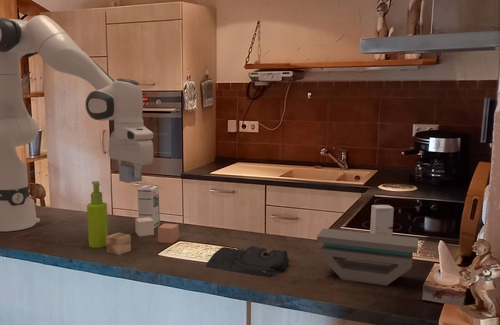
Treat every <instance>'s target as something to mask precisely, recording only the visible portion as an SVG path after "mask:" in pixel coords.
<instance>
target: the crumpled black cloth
mask: <svg viewBox="0 0 500 325" xmlns="http://www.w3.org/2000/svg"><path fill="white" fill-rule="evenodd" d="M289 260H290V258H289V257H288V252H287V250H277V249H271V250H270V252H267V249H266V248H265V247H257V246H253V245H250V246H249V247H247V248H246V249H240V248H239V249H238V248H233V247H227V246H223V247H220V248H219V249H218V250H217V251H215V252H214V253H213V254H212V256H210V258H209V260H207V262H206V265H205V268H210V269H214V270H215V269H216V270H220V271H221V270H222V271H226V272H232V273H239V274H244V275H250V276H251V275H252V276H257V277H263V278H271V277H277V276H278V275H279V274H280V273H281V272H283V271H284V270H286V268H287V267H288V265H289Z"/></svg>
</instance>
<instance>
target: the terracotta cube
mask: <svg viewBox="0 0 500 325" xmlns="http://www.w3.org/2000/svg"><path fill="white" fill-rule="evenodd" d="M179 227H180V226H179V224H178V223H175V224H174V223H165V222H164V223H162V224H161V225H158V226H157V243H162V244H163V243H164V244H175V242H177V241H178V240H180V236H179V235H180V233H179V231H180V230H179Z"/></svg>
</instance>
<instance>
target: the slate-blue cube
mask: <svg viewBox="0 0 500 325" xmlns="http://www.w3.org/2000/svg"><path fill="white" fill-rule="evenodd" d="M142 168H143V167H142ZM142 168H141V170H140V177H133V174H132V172H133V171H134V169H135V167H134V163H126V164H125V165H119V164H118V173H119V174H118V175H119V177H118V178H119V182H123V183H127V184H130V183H132V184H133V183H137V182H142V181H143V174H142V173H143V172H142V171H143V169H142Z"/></svg>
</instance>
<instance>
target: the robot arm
mask: <svg viewBox="0 0 500 325" xmlns="http://www.w3.org/2000/svg"><path fill="white" fill-rule="evenodd" d="M35 55H39V56H40V57H41V58H42V60H43V61H44V63H45V64H46V65H49V67H51V68H52V69H53V70H54V71H57V72H59V73H64V74H67V75H72V76H75V77H77V78H81V79H83V80H85V81H86V82H88V83H89V84H90V85H91V86H92V87H94V91H90V93H89V94H88V95H87V96H86V97H87V98H86V99H85V110H86V112H87V114H88V116H89V117H90V118H91V119H93V120H95V121H101V122H102V121H113V123H114V124H113V126H114V127H113V128H114V130H113V131H112V132H111V133H110V137H109V138H108V139H109V140H108V157H109V159H110V160H117V161H118V166H119V165H125V164H128V163H130V164H134V167H135V169H134V171H133V172H132V174H133V177H140V170H141V168H143V166H145V165H151V164H153V161H154V142H153V140H152V139H154V132H153V131H151V130H150V129H148V128H147V127H146V126H145V125H144V118H143V110H144V101H143V98H144V97H143V90H142V87H141V84H140V83H139V82H138V81H136V80H132V79H130V78H129V79H128V78H127V79H126V78H116V79H113V78H112V77H111V76H110V74H108V73H107V72H106V71H105V70H104V69H103V68H102V67H101V66H100V65H99V64H98V63H97V62H96V61H95V60H94V59H92V58H91V57H90V56H89V55H88V54H87V53H86V52H85V51H84V50H83V49H82V48H80V46H79V45H78V44H77V43H76V42H75V40H73V39H72V38H71V37H70V35H69V34H68V33H67V32H66V31H65V30H64V29H63V28H62V27H61V26H60V24H58V23H57V22H55V21H54V20H53V19H52V18H50V17H49V16H47V15H43V14H39V15H34V16H33V17H31V18H30V19H29V20H26V19H25V20H24V19H19V18H17V19H15V18H5V17H0V232H13V231H14V232H15V231H21V230H26V229H29V228H31V227H33V226H35V225H36V224H37V223H40V222H41V218H39V217H37V212H36V205H35V200H34V199H33V198H31V197H30V195H31V193H30V192H31V188H30V186H29V185H28V184H29V181H28V167H27V166H28V165H27V164H26V162H25V161H24V160H22V159H20V156H19V155H18V152H17V150H16V147H22V146H25V145H29V144H30V143H32V142H34V141H35V140H36V139H37V137H38V135H39V132H40V131H39V130H40V129H39V125H38V122H36V120H35V119H34V118H33V117H32V116H31V115H30V114H29V112H28V108H26V104H25V102H24V98H23V93H22V91H23V90H22V84H21V71H20V60H21V59H22V57H25V58H31V57H33V56H35Z"/></svg>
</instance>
